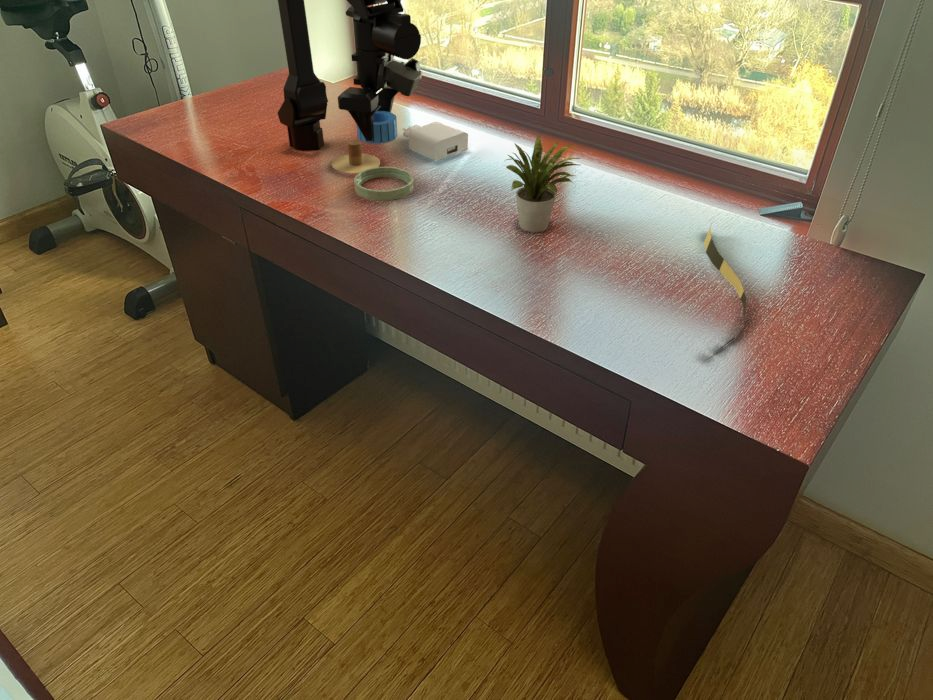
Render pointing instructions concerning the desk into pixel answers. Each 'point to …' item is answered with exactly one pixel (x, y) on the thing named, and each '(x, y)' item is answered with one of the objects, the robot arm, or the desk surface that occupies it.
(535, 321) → the desk surface
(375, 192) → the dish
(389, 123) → the blue gear
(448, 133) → the charger
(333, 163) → the tape holder
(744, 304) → the tape
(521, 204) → the house plant
